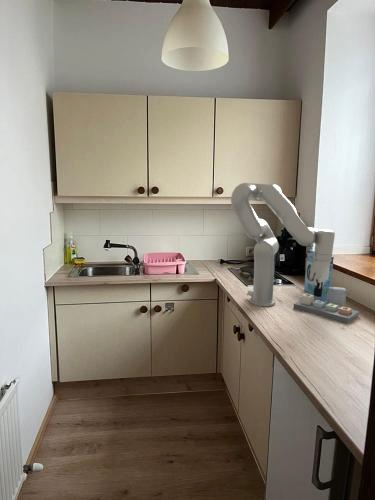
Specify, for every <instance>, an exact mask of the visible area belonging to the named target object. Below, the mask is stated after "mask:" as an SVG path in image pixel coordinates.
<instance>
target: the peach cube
mask: <svg viewBox="0 0 375 500" xmlns="http://www.w3.org/2000/svg"><path fill="white" fill-rule="evenodd" d="M352 310H353V309H352V308H351V307H346V306H345V307H343V306H342V307H341V308H339V313H341V314H345V315H350V314H351V313H352Z"/></svg>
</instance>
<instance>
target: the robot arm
mask: <svg viewBox="0 0 375 500" xmlns="http://www.w3.org/2000/svg"><path fill="white" fill-rule="evenodd" d="M230 196H231V197H230V202H231V203H230V204H231V206H232V209H233V211H234V214H235V216H236V218H237V219H238V221H239V223H240V225H241V227H242V228H243V231H244V233H245V234H246V236H247V237H248V238H250V240H251V239H252V240H255V241H256V244H255V245H254V248H253V260H254V261H253V265H254V266H253V267H254V268H253V287H252V288H253V289H252V290H247V293H246V296H249V297H250V298H249V304H251V305H253V306H257V307H272V306H274V305H276V304H277V301H276V300H275V298H273V296H274V281H275V279H274V277H275V255H276V254H277V252H278V251H279V248H280V244H279V242H278V239H277V238H276V236H275V235H274V232H273V231H272V228H271V227H270V226H269V223H268V221H266V220H265V219H263V218H260V217H258V215H257V213H256V212H255V210H254V208H253V206H252V205H251V203H250V201H255V202H264V203H265V204H266V206H267V207H268V208H269V209H270V210H271V211H272V212H273V213H274V215H275V216H276V217H277V218H278V219H279V221H280V223H281V224H282V225H283V227H284V228H285V229H286V230H287V232H288V233H289V234H290V235H291V236H292V238H293V239H294V240H295V241H296V242H297V243H298V244H299V245H300V246H303V247H305V246H306V247H307V246H311V245H312V244H314V249H313V250H314V258H313V260H314V261H313V264H312V268H311V273H310V281H313V285H314V294H313V295H314V296H317V297H321V296H322V290H323V285H324V282H325V281H326V280H328V277H329V270H330V262H331V259H332V257H333V250H334V244H335V237H336V236H335V235H336V233H335V231H334V230H331V229H321V228H320V229H319V228H314V227H311V226H310V227H308V226H307V225H306V224H305V223H304V221H302V219H301V218H300V216H299V215H298V212H297V209H296V207H295V206H294V204H292V202H291V201H290V200H289V199H288V198H287V197H286V196H285V195H284V194H283V192H282V189H281V187H280V186H278V185H277V184H268V183H267V184H264V183H252V182H241V183H239V184H238V185H237V186H235V188H234V189H233V191H232V193H231V195H230Z"/></svg>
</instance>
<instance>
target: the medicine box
mask: <svg viewBox="0 0 375 500" xmlns="http://www.w3.org/2000/svg"><path fill="white" fill-rule="evenodd" d="M346 298H347V289H346V288H345V287H339V286H338V287H337V286H331V287H328V291H327V301H326V303H327V304H329V303H331V304H335V305H339V307H342V306H343V307H346Z"/></svg>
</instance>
